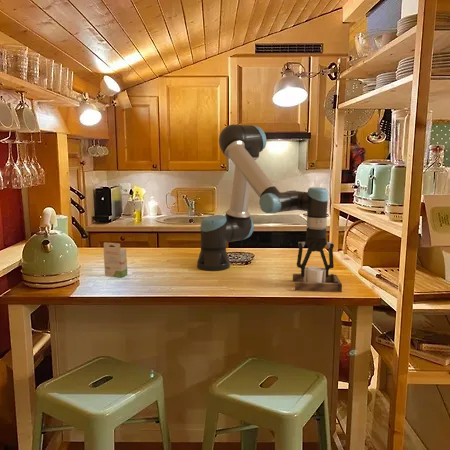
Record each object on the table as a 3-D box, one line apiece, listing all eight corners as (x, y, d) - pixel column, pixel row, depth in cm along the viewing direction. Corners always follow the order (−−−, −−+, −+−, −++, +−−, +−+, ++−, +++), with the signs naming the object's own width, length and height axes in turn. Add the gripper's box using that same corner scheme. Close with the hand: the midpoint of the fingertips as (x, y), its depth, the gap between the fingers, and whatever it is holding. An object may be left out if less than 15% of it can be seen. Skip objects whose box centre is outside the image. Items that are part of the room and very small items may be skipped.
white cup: (303, 283, 172) (304, 266, 171) (319, 282, 172) (320, 265, 171) (308, 288, 165) (308, 270, 164) (325, 287, 166) (326, 270, 164)
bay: (295, 290, 163) (295, 281, 162) (292, 280, 176) (292, 272, 175) (341, 291, 161) (342, 282, 161) (335, 281, 174) (336, 273, 174)
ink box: (128, 274, 183) (126, 241, 181) (121, 278, 179) (120, 243, 176) (110, 272, 186) (109, 239, 184) (104, 276, 181) (102, 242, 179)
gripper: (291, 228, 162) (289, 286, 166) (344, 229, 160) (341, 288, 164) (290, 225, 169) (288, 281, 173) (340, 226, 168) (337, 282, 171)
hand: (314, 284), depth 169 cm, fingers closed on white cup, 7 cm apart
